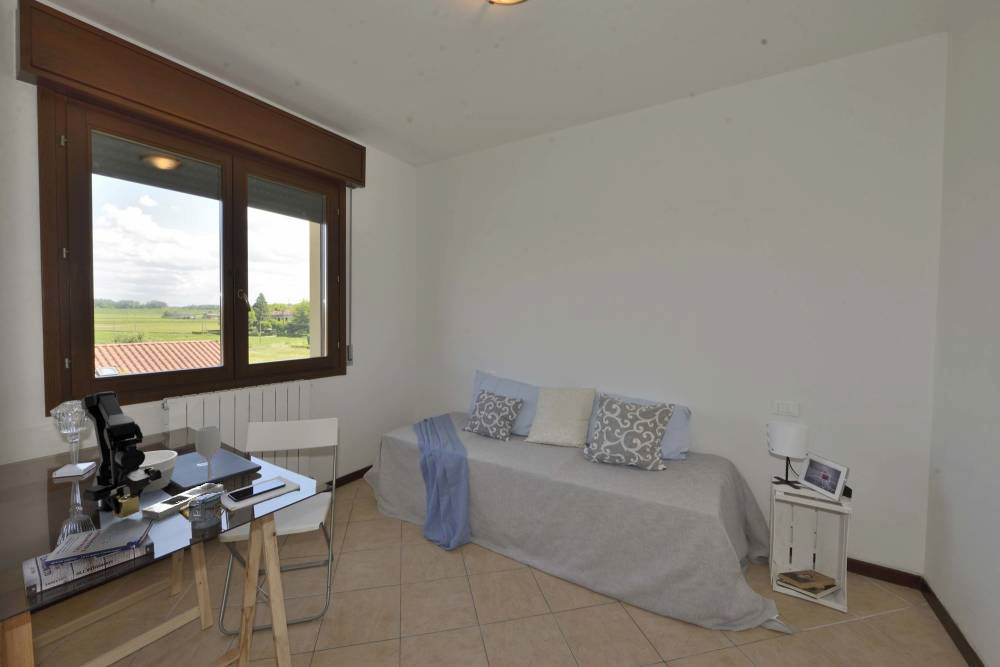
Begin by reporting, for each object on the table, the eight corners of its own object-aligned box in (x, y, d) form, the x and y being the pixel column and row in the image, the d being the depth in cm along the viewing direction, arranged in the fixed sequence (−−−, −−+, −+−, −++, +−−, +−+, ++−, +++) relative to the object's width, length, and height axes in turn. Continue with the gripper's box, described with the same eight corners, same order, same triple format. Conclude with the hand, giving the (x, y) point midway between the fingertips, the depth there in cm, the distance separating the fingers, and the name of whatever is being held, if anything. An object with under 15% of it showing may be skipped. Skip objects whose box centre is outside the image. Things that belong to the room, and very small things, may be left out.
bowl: (105, 489, 158) (103, 460, 158) (168, 473, 174) (167, 447, 173) (120, 503, 147) (119, 472, 146) (186, 484, 162) (185, 456, 162)
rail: (142, 517, 137) (142, 509, 137) (208, 489, 158) (207, 482, 158) (159, 520, 135) (158, 512, 134) (223, 491, 155) (223, 484, 155)
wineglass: (229, 479, 167) (226, 425, 166) (208, 488, 159) (205, 432, 157) (211, 476, 169) (209, 424, 168) (190, 485, 161) (187, 430, 160)
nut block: (113, 515, 134) (112, 499, 133) (129, 509, 138) (128, 493, 138) (123, 518, 132) (122, 501, 132) (139, 511, 137) (138, 495, 136)
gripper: (105, 475, 123) (108, 528, 124) (172, 454, 141) (175, 501, 142) (80, 471, 126) (83, 523, 127) (148, 451, 144) (151, 496, 145)
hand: (126, 510), depth 135 cm, fingers closed on nut block, 4 cm apart
